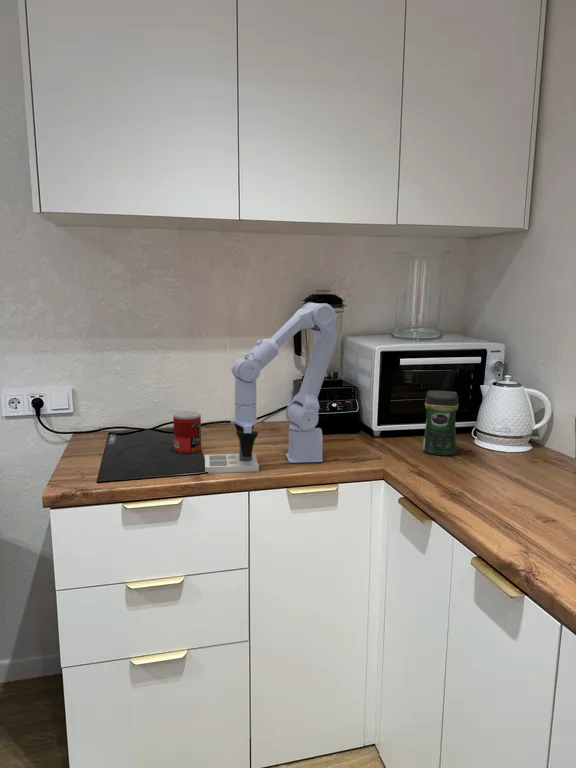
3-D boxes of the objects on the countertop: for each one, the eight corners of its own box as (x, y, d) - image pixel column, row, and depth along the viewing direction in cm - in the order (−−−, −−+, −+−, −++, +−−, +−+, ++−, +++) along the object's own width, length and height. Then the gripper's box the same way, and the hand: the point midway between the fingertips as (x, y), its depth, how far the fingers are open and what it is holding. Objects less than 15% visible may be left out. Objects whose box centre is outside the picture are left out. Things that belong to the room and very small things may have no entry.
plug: (251, 457, 158) (251, 432, 156) (252, 461, 154) (252, 436, 153) (239, 457, 157) (239, 433, 156) (239, 461, 154) (239, 436, 153)
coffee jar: (456, 450, 172) (460, 389, 169) (455, 457, 165) (459, 394, 162) (423, 447, 176) (427, 387, 172) (420, 454, 168) (424, 392, 165)
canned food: (195, 455, 165) (195, 417, 163) (169, 453, 166) (168, 416, 164) (204, 447, 172) (204, 412, 170) (179, 445, 174) (179, 410, 172)
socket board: (254, 458, 162) (254, 452, 162) (258, 471, 151) (258, 464, 151) (204, 460, 160) (204, 454, 159) (205, 473, 149) (205, 466, 149)
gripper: (229, 398, 160) (229, 445, 162) (232, 409, 145) (232, 460, 148) (254, 397, 161) (254, 444, 163) (259, 409, 146) (259, 460, 149)
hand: (245, 452), depth 155 cm, fingers open, 7 cm apart
